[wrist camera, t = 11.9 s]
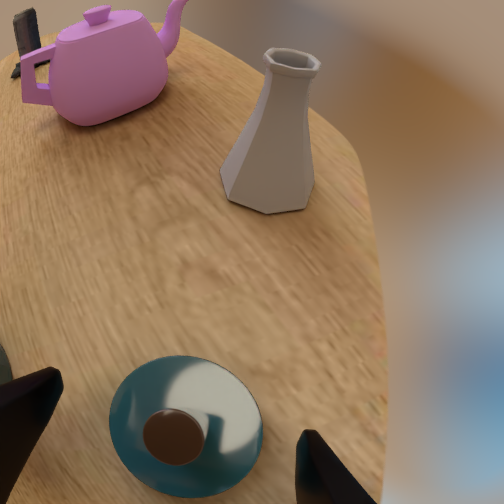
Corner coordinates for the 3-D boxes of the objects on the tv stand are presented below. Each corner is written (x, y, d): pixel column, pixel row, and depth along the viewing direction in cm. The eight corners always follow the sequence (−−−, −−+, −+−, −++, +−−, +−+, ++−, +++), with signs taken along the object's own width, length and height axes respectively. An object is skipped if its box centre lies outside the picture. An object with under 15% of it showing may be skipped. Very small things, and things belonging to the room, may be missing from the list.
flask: (212, 210, 20) (215, 76, 11) (225, 142, 23) (233, 32, 15) (317, 222, 20) (372, 103, 12) (310, 153, 24) (343, 50, 15)
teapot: (222, 89, 28) (230, -5, 18) (40, 165, 21) (-2, 65, 11) (171, 53, 32) (171, -17, 23) (32, 108, 25) (10, 36, 15)
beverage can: (49, 52, 35) (40, 2, 25) (56, 58, 33) (45, 2, 23) (9, 74, 32) (-4, 24, 21) (11, 83, 29) (-5, 27, 19)
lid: (248, 502, 11) (259, 535, 7) (106, 469, 11) (70, 486, 7) (270, 373, 15) (289, 361, 11) (131, 343, 15) (103, 320, 11)
